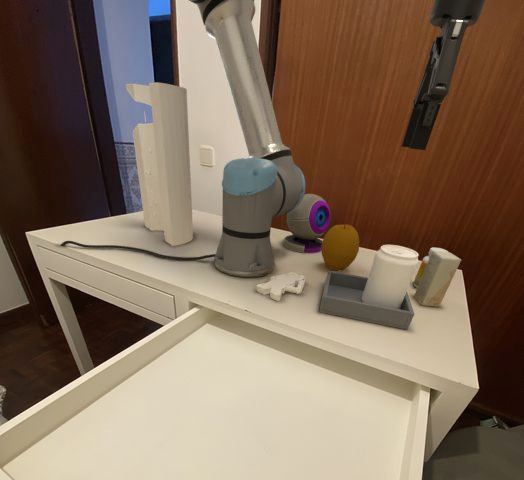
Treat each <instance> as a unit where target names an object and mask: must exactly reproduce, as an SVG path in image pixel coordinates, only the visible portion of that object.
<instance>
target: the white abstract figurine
mask: <svg viewBox="0 0 524 480" xmlns="http://www.w3.org/2000/svg"><path fill="white" fill-rule="evenodd" d="M305 285H306V281H305V276H304V275H302V274H298V273H297V272H294V271H289V272H287V273H282V274H278V275H273V276H271V277H270V278H269V279H268V281H267V282H264V283H259V284H257V285H256V292H257V293H259V294H261V295H264V296H265V295H269V298H270V299H272V300H273V301H276V302H279V301H280V300H281V298H282V295H285V293H286V292H287V293H293V294H296V295H300V294H301V293H302V292H303V289H304V287H305Z"/></svg>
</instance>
